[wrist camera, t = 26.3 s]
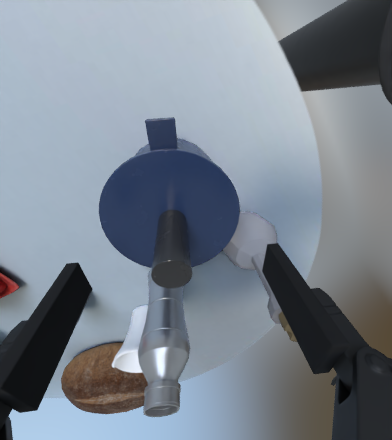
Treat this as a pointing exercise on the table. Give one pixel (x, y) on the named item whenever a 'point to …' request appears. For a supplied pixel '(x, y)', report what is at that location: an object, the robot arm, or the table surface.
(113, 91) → the table surface
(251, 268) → the potion bottle
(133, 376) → the bread
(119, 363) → the cup
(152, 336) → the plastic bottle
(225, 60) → the table surface
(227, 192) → the lid
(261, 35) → the table surface
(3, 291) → the butter dish
